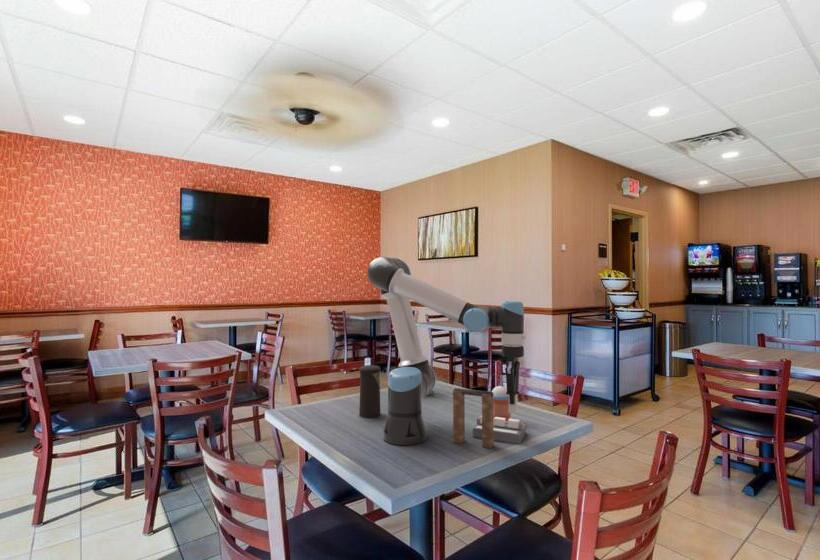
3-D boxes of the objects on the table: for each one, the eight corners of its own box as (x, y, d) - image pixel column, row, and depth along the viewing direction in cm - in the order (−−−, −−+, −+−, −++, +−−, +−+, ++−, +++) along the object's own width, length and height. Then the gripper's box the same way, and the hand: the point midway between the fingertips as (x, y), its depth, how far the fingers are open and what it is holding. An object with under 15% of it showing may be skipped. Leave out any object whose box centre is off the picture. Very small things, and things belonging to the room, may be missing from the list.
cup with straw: (496, 426, 162) (496, 378, 162) (485, 419, 170) (485, 373, 171) (518, 424, 164) (517, 376, 164) (506, 417, 173) (506, 372, 173)
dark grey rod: (452, 393, 147) (452, 388, 147) (454, 392, 148) (454, 387, 148) (492, 398, 141) (492, 392, 141) (494, 396, 142) (494, 391, 142)
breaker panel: (472, 436, 151) (472, 422, 151) (482, 426, 161) (482, 413, 161) (519, 443, 144) (519, 428, 144) (526, 432, 154) (526, 418, 154)
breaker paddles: (480, 423, 154) (480, 416, 154) (481, 421, 157) (481, 414, 157) (518, 428, 149) (518, 421, 149) (519, 426, 151) (519, 419, 151)
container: (383, 416, 174) (383, 366, 175) (361, 419, 171) (361, 368, 171) (377, 410, 182) (377, 363, 183) (356, 413, 179) (356, 364, 179)
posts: (453, 442, 146) (452, 390, 146) (456, 438, 149) (456, 388, 149) (490, 448, 140) (490, 394, 140) (493, 444, 143) (493, 392, 143)
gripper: (519, 348, 143) (520, 419, 143) (527, 343, 155) (527, 409, 155) (497, 346, 147) (497, 416, 146) (506, 342, 158) (506, 406, 158)
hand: (512, 412), depth 151 cm, fingers closed
